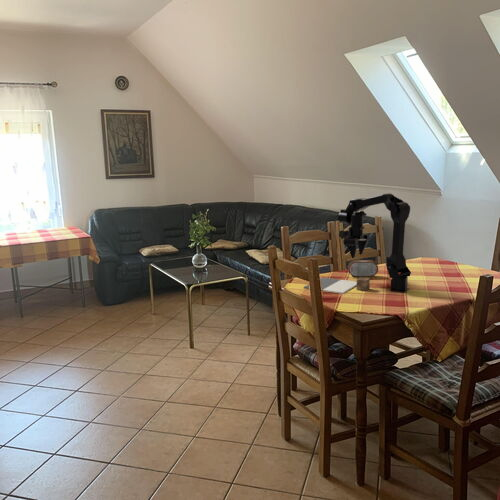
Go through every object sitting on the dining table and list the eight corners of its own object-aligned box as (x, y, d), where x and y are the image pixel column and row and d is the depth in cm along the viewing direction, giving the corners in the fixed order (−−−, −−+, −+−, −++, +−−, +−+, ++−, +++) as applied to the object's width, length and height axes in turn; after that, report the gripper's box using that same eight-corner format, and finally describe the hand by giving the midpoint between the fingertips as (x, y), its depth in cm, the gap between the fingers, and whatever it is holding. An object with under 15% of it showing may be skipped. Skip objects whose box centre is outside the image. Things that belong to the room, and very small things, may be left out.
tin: (377, 275, 254) (377, 259, 252) (378, 277, 251) (378, 260, 249) (347, 275, 255) (347, 259, 254) (348, 277, 252) (348, 261, 251)
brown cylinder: (369, 288, 231) (369, 278, 230) (365, 291, 227) (365, 280, 226) (360, 287, 233) (360, 277, 232) (356, 290, 230) (356, 279, 229)
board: (360, 283, 240) (360, 282, 240) (343, 293, 224) (343, 292, 224) (322, 278, 252) (322, 277, 252) (303, 288, 236) (303, 286, 236)
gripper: (349, 221, 254) (349, 251, 257) (333, 226, 239) (333, 258, 242) (370, 222, 248) (370, 253, 251) (354, 227, 233) (354, 260, 236)
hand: (356, 256), depth 245 cm, fingers open, 9 cm apart
